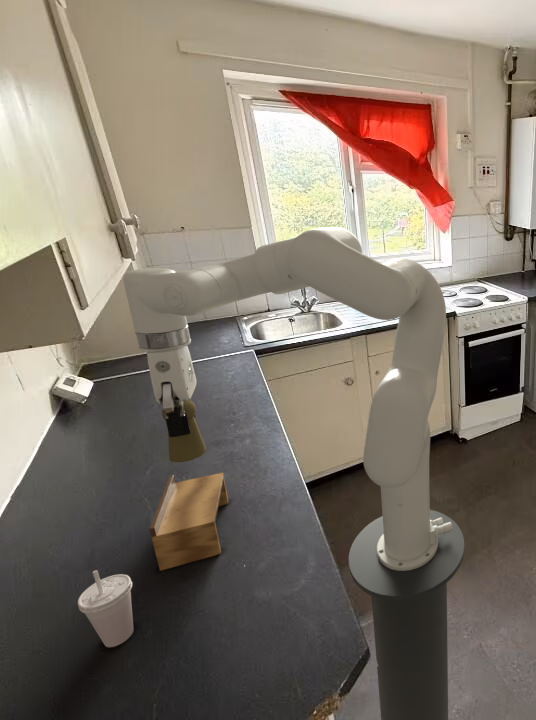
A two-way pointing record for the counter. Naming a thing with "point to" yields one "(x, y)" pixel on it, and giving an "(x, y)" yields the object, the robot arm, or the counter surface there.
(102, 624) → the smoothie
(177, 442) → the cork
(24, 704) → the counter surface
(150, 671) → the counter surface
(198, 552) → the spice shelf
